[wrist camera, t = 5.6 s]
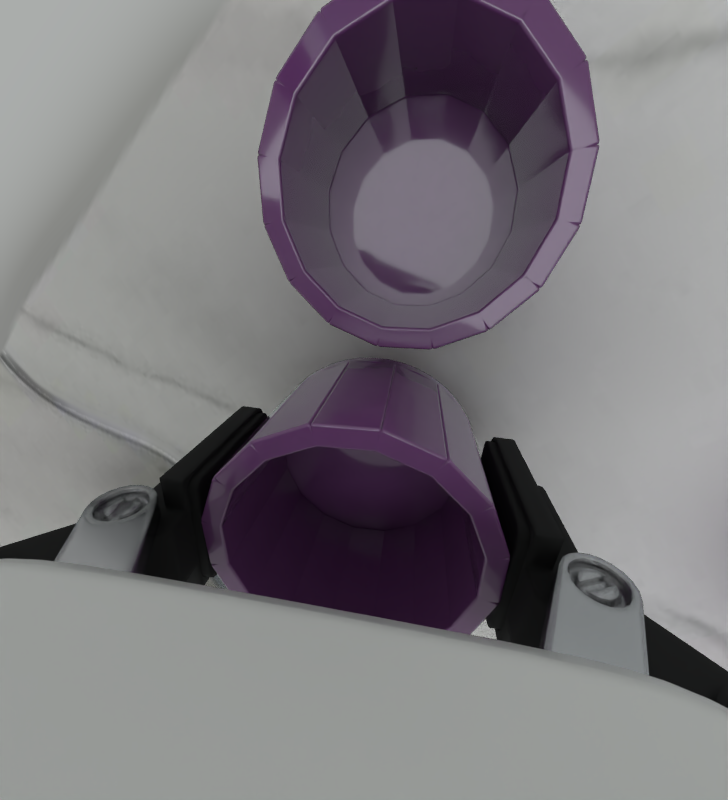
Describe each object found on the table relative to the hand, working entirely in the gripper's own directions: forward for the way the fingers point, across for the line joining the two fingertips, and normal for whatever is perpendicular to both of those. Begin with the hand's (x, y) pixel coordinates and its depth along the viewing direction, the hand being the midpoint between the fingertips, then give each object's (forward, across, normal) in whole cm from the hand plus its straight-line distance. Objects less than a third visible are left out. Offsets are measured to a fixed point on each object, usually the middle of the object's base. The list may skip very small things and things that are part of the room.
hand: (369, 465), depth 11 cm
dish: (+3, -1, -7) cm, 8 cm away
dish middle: (+1, 0, 0) cm, 1 cm away
